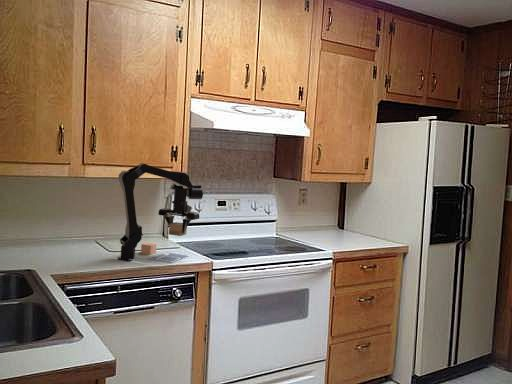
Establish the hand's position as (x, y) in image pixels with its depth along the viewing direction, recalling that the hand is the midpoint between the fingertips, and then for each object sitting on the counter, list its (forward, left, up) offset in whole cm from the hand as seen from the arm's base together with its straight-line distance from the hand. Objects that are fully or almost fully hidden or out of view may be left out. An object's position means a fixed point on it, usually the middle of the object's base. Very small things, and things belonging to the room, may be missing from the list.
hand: (177, 232), depth 229 cm
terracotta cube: (-3, +13, -12) cm, 18 cm away
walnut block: (0, 0, -1) cm, 1 cm away
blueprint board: (-5, +1, -12) cm, 13 cm away
